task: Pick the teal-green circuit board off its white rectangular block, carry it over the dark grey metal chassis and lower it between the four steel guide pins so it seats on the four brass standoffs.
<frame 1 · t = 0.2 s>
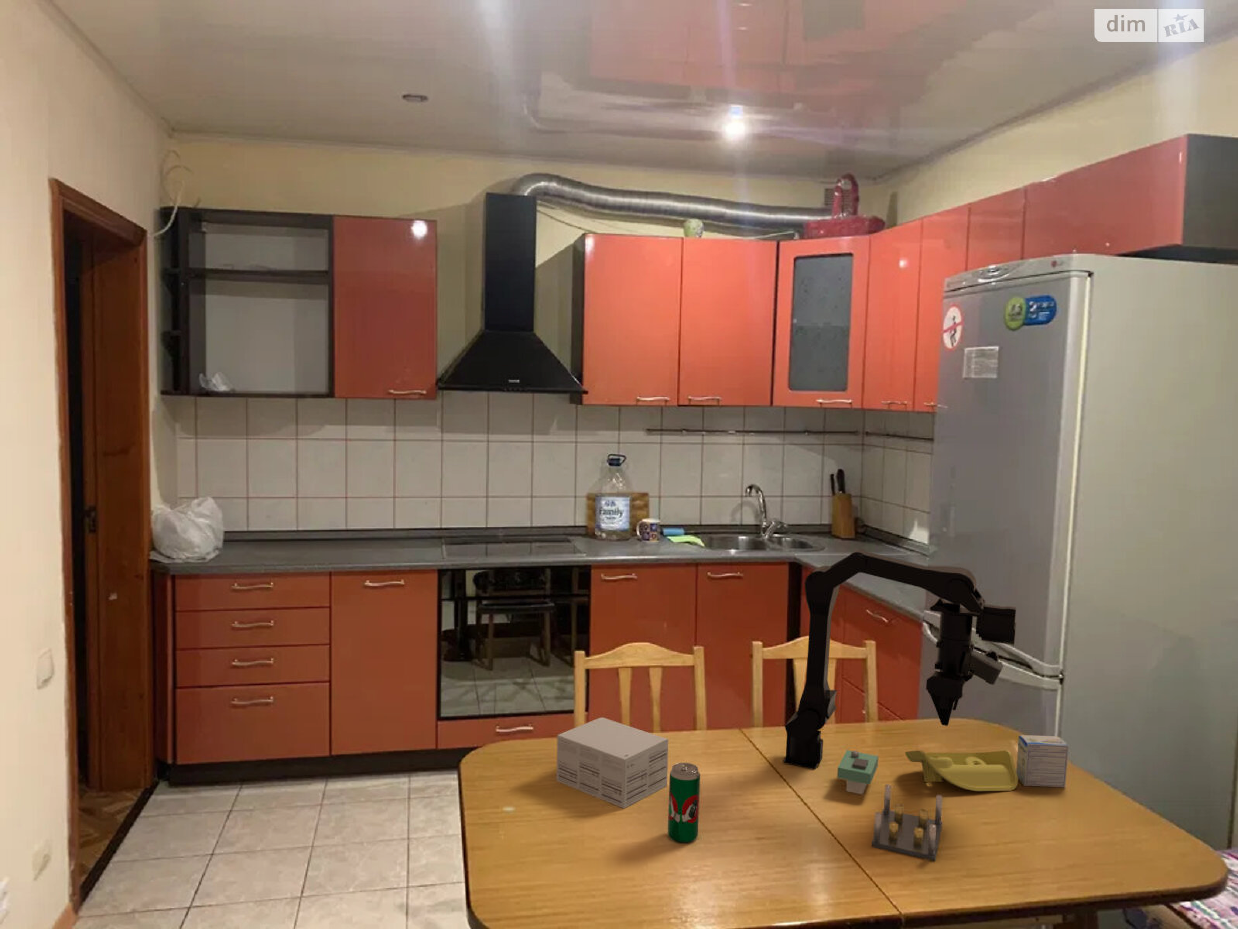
hand: (948, 717, 170), 14 cm above the table, fingers open, 9 cm apart
white rectangular block: (856, 787, 172), on the table
medicine box: (1040, 783, 176), on the table
soda can: (682, 838, 151), on the table
supplement box: (611, 785, 171), on the table
chassis: (907, 836, 154), on the table
plastic component: (956, 781, 177), on the table
board: (857, 772, 172), point 3 cm above the table, touching white rectangular block
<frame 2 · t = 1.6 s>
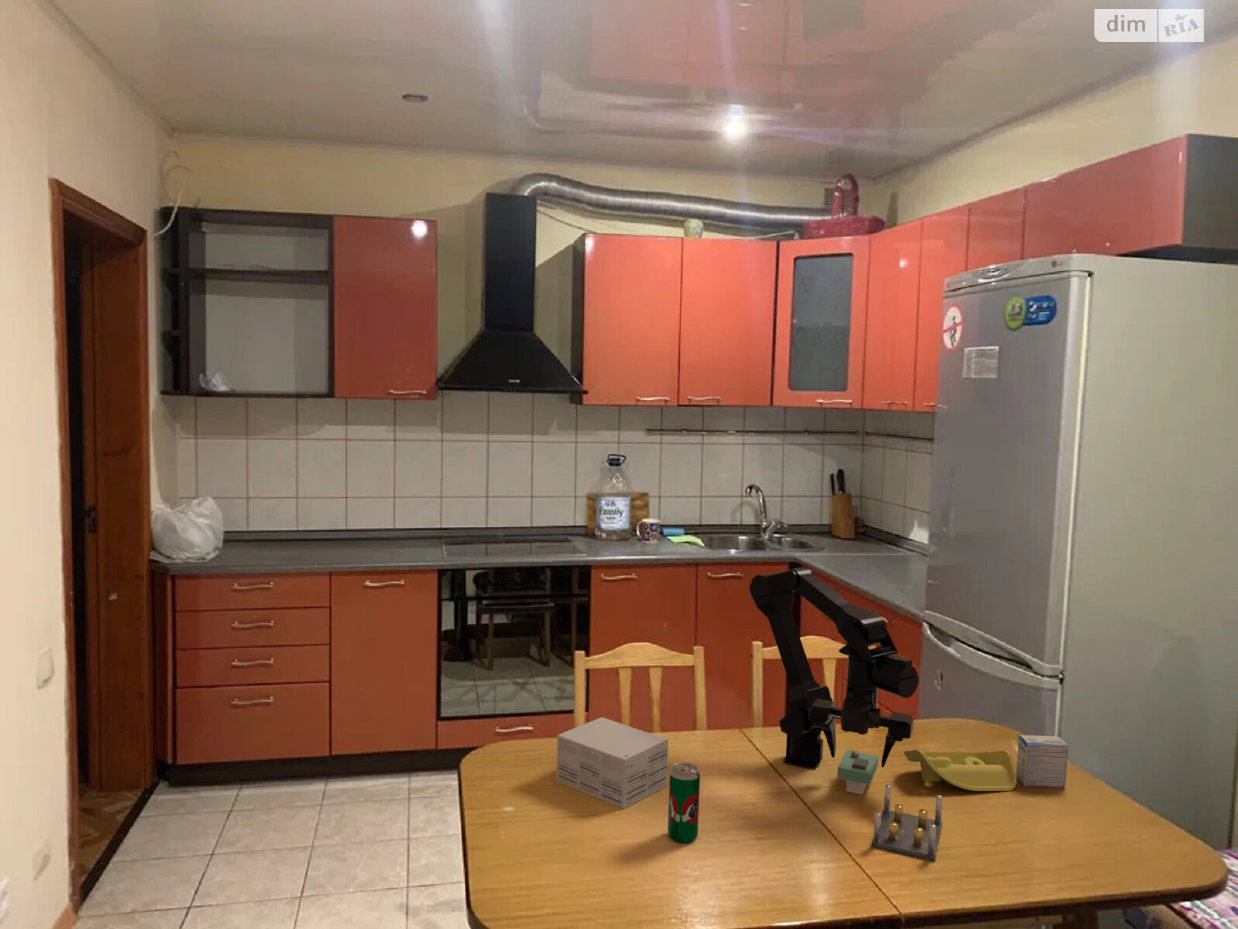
hand: (857, 761, 172), 5 cm above the table, fingers open, 9 cm apart
nothing on the table moved.
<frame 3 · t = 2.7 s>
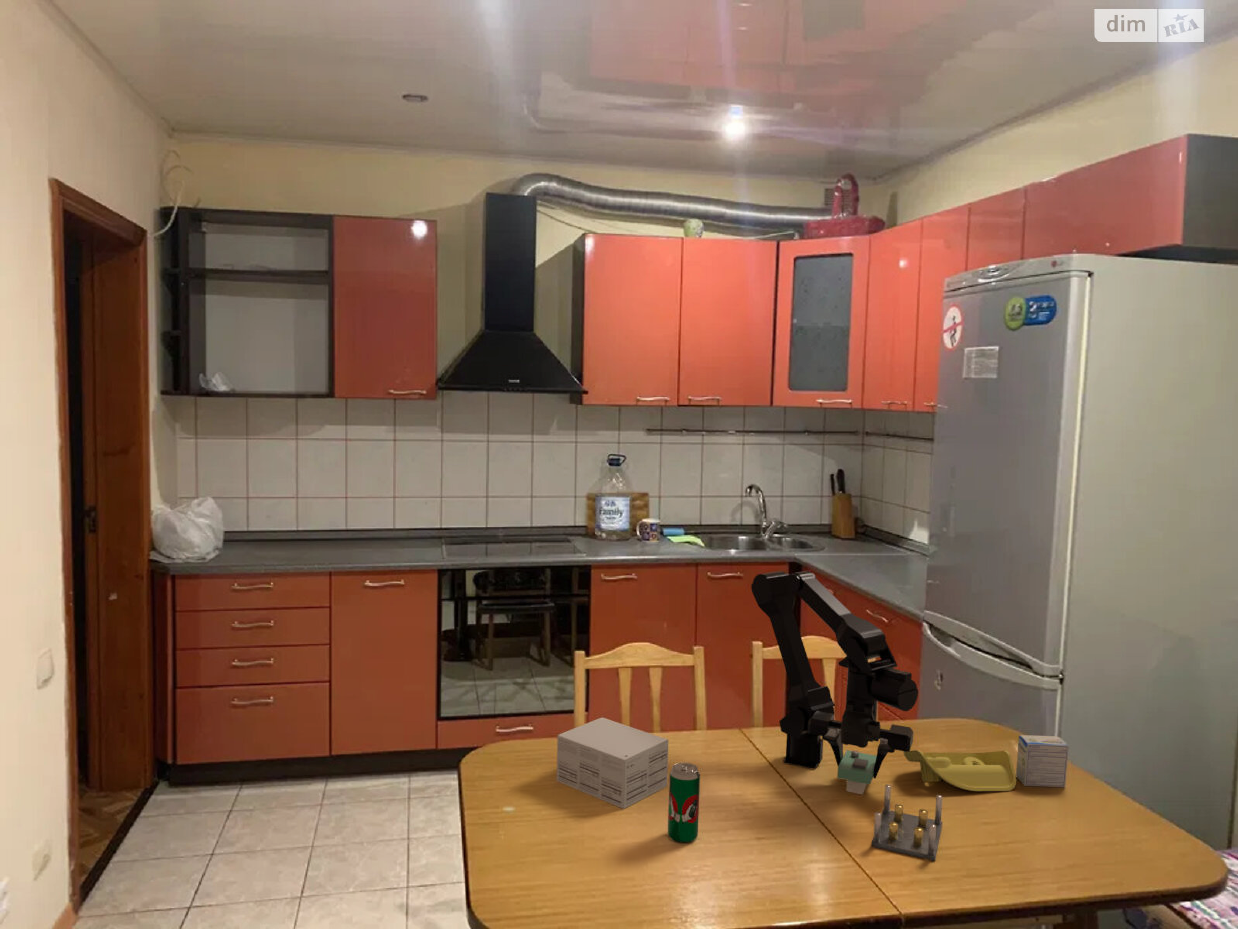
hand: (857, 774, 172), 3 cm above the table, fingers closed on board, 6 cm apart
board: (857, 772, 172), point 3 cm above the table, touching gripper, white rectangular block
everything else where it was.
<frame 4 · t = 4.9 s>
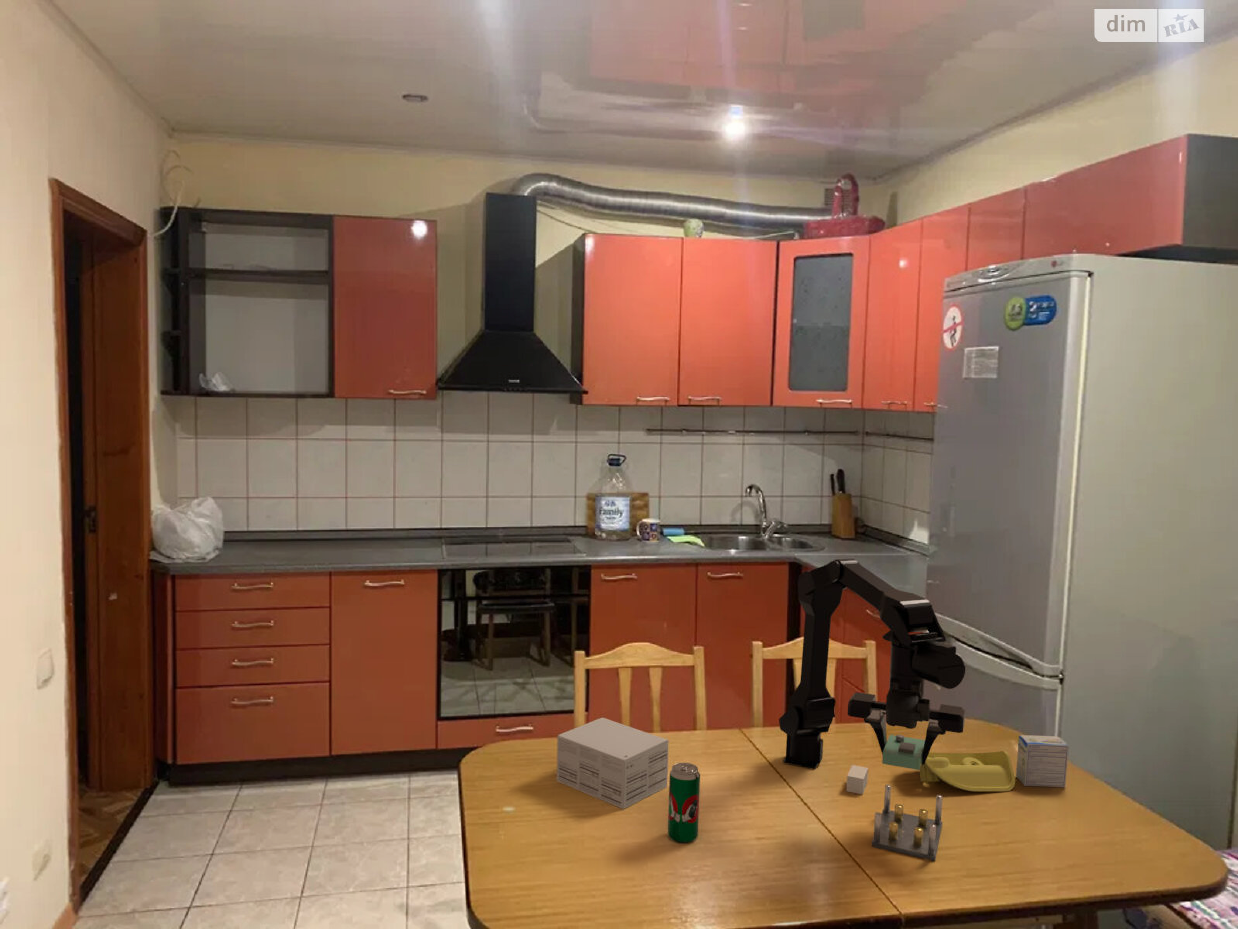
hand: (903, 760, 156), 12 cm above the table, fingers closed on board, 6 cm apart
board: (903, 757, 156), point 12 cm above the table, touching gripper
everything else where it was.
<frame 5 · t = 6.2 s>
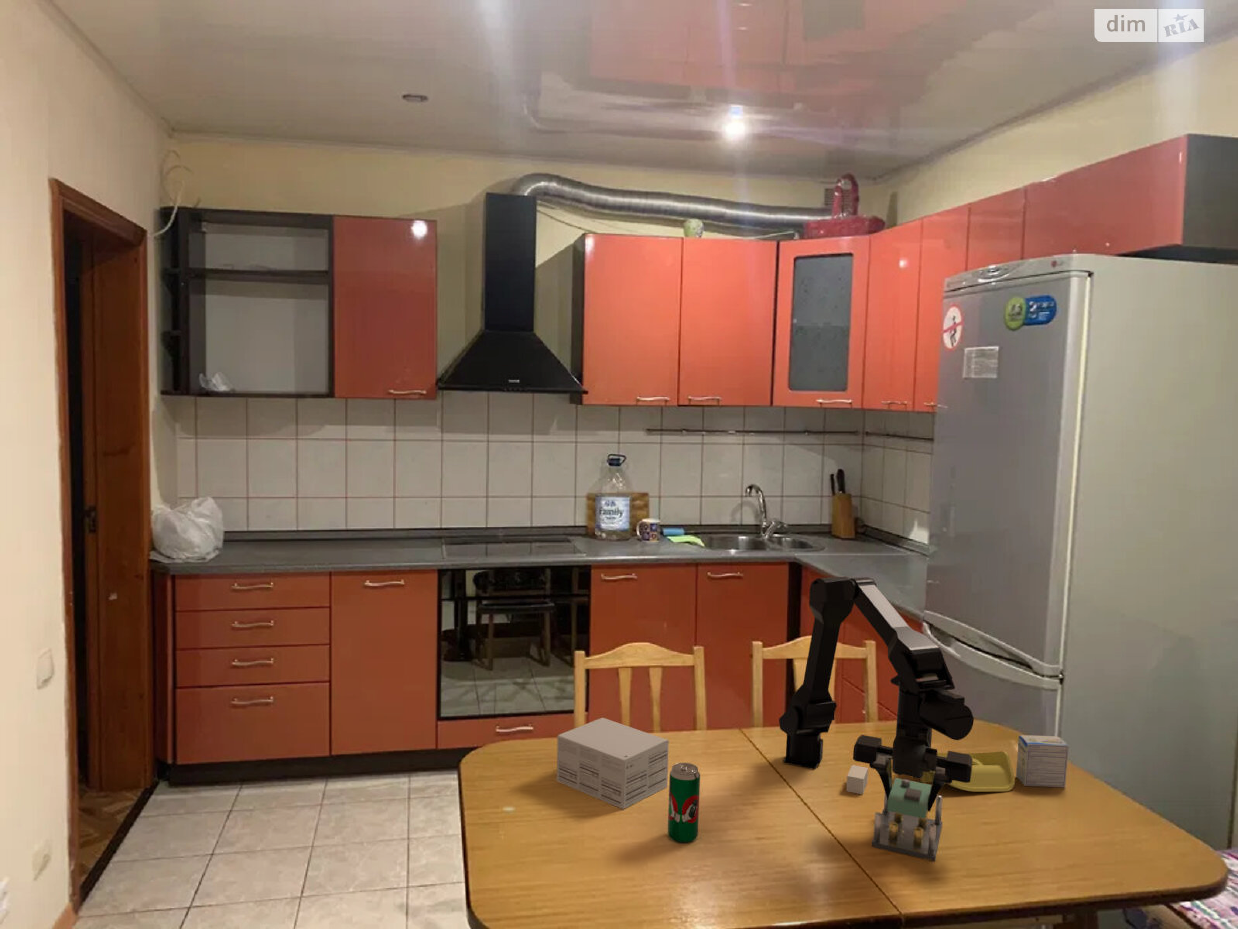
hand: (909, 806, 153), 5 cm above the table, fingers closed on board, 6 cm apart
board: (909, 803, 153), point 6 cm above the table, touching gripper
everything else where it was.
when the fingers open (4 cm above the table, at t = 7.4 s): board drops 1 cm, resting on chassis.
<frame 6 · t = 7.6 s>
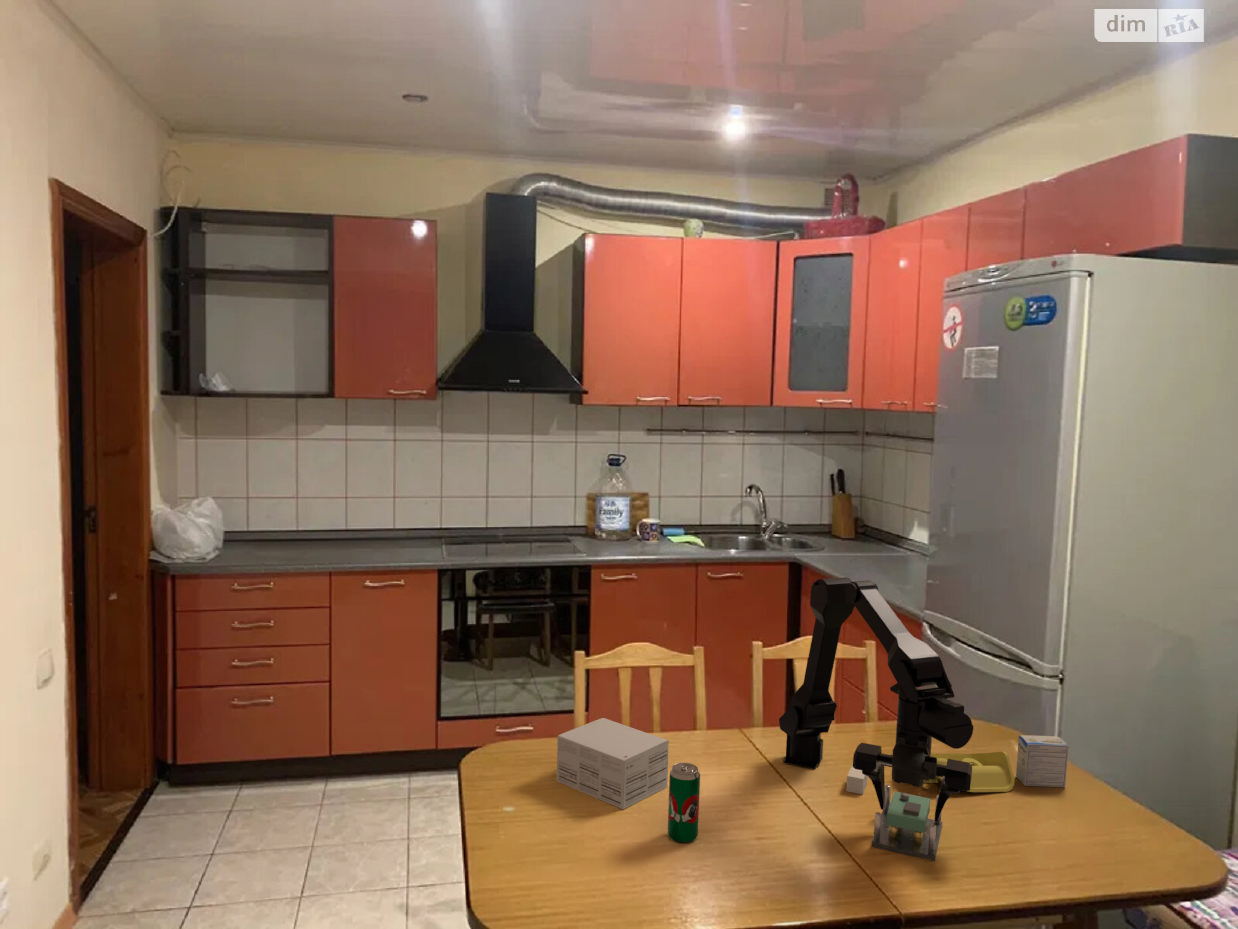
hand: (908, 814, 154), 4 cm above the table, fingers open, 8 cm apart
board: (908, 817, 154), point 3 cm above the table, touching chassis
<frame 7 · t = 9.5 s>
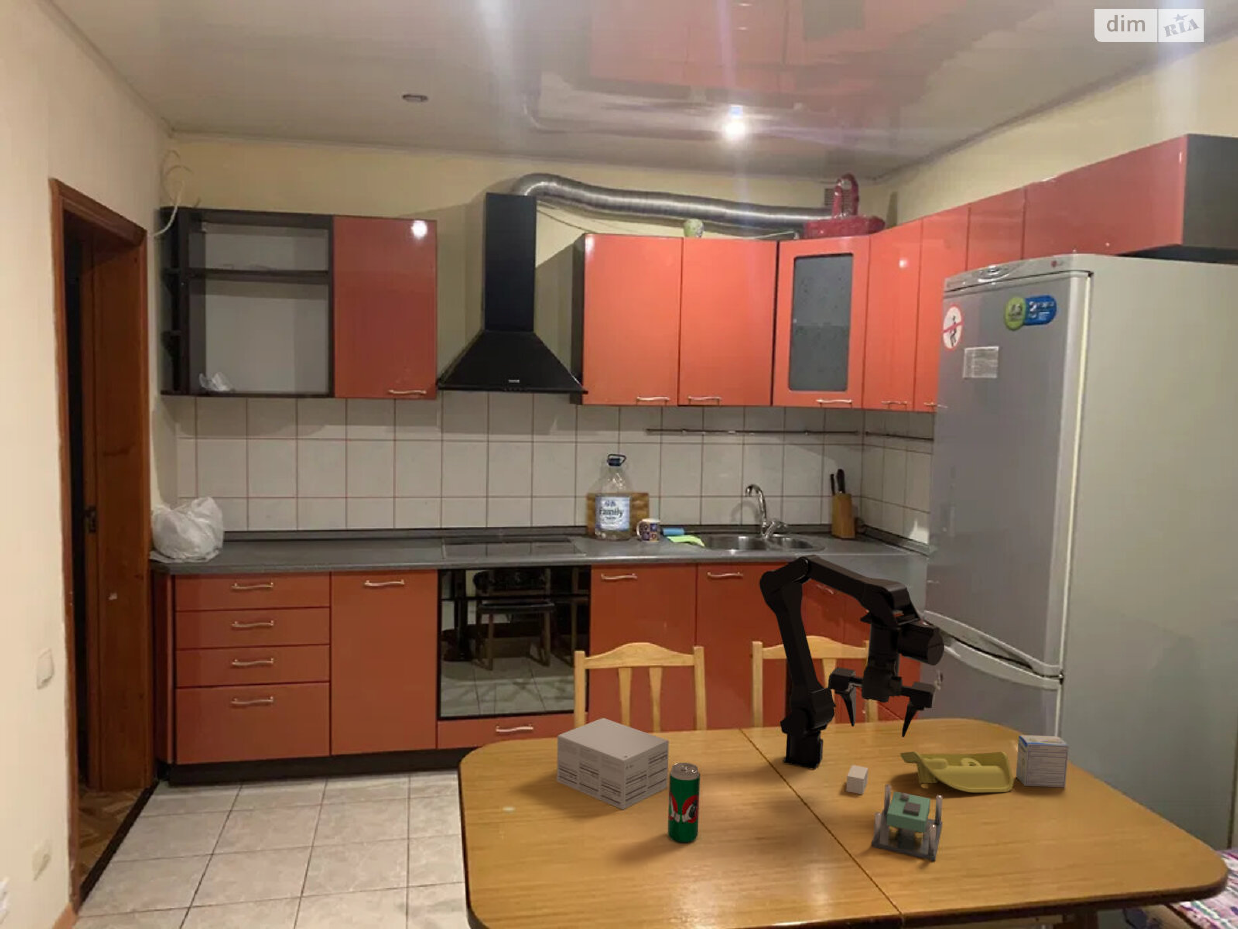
hand: (877, 731, 170), 12 cm above the table, fingers open, 9 cm apart
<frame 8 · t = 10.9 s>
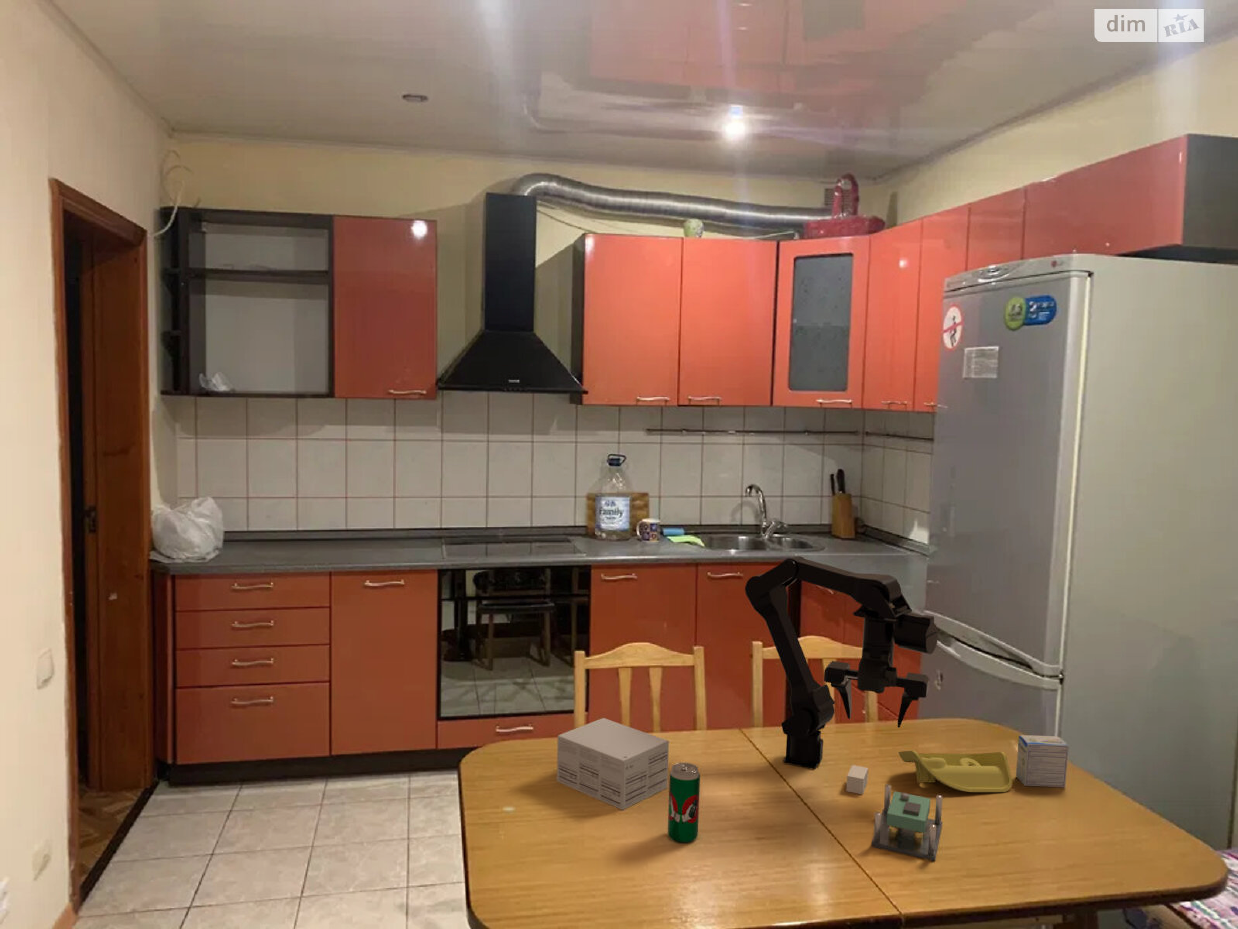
hand: (873, 722, 173), 12 cm above the table, fingers open, 9 cm apart
at the end: board 0.0 cm off-centre on the chassis, point 3.3 cm above the chassis's base; board tilted 0°; the gripper is holding nothing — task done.
